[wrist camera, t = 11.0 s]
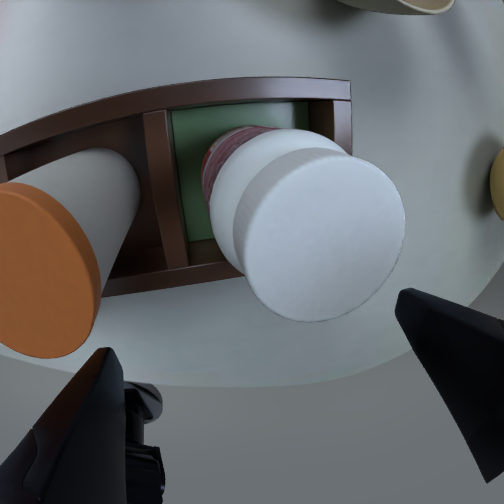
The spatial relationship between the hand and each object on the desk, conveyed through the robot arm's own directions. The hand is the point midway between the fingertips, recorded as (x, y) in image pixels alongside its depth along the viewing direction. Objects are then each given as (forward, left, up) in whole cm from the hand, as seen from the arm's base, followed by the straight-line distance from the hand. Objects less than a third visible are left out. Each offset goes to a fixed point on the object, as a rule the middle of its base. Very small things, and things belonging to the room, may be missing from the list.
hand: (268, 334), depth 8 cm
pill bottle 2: (+2, -2, -12) cm, 12 cm away
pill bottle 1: (+2, +8, -12) cm, 14 cm away
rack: (+2, +3, -13) cm, 13 cm away
